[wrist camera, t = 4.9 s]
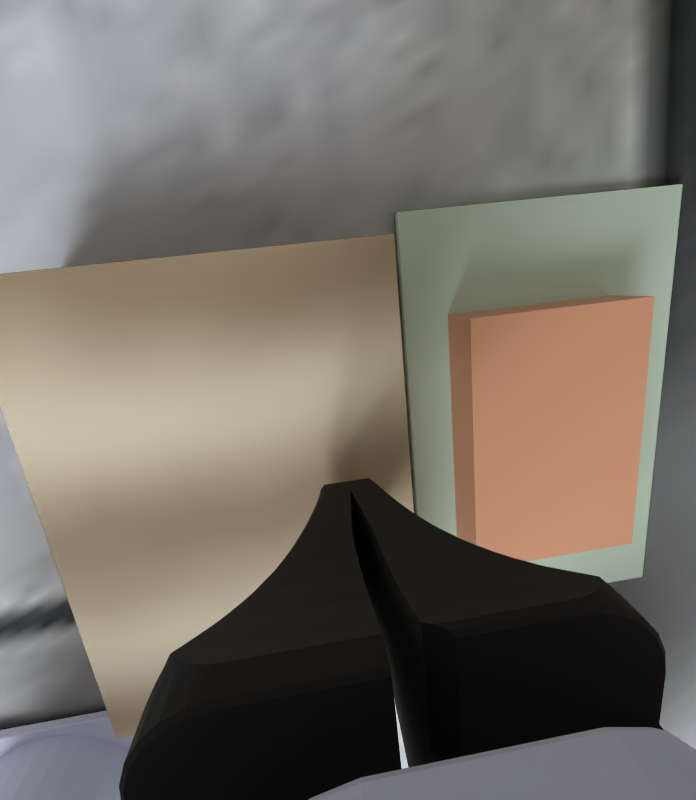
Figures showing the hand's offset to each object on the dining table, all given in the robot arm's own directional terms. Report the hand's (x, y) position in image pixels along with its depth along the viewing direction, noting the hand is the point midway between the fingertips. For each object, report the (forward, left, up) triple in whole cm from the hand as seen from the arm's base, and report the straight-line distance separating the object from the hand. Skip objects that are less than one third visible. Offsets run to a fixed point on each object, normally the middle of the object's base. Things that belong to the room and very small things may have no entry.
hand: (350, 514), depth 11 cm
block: (0, -7, -2) cm, 8 cm away
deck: (0, +3, -5) cm, 6 cm away
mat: (0, -8, -5) cm, 9 cm away
